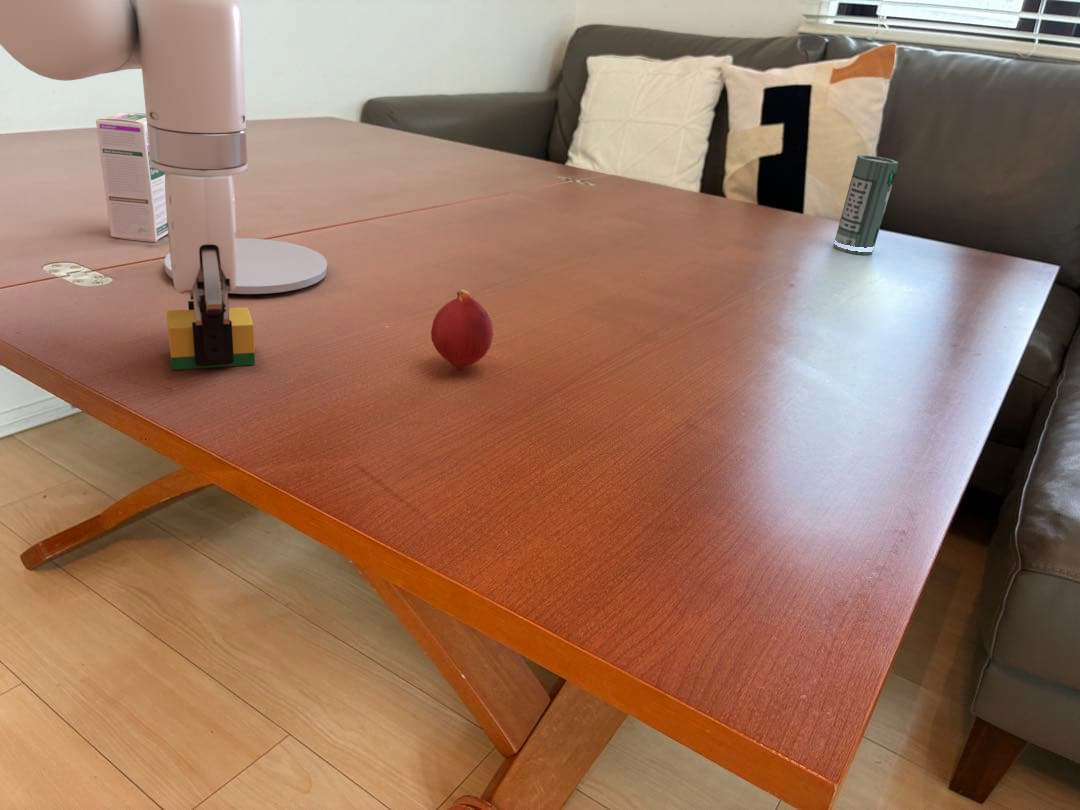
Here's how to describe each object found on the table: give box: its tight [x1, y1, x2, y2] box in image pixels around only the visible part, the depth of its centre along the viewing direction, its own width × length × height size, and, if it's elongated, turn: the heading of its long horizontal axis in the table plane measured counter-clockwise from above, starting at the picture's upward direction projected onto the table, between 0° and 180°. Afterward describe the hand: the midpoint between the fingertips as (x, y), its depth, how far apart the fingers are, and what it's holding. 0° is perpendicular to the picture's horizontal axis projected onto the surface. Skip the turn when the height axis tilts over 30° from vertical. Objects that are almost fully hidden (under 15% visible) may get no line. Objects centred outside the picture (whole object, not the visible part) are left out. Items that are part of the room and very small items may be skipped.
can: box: [833, 154, 900, 256], centre depth 140 cm, size 6×6×15 cm
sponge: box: [166, 307, 256, 371], centre depth 77 cm, size 7×4×4 cm, turn 114°
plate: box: [163, 237, 328, 295], centre depth 99 cm, size 18×18×2 cm
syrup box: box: [95, 111, 168, 243], centre depth 105 cm, size 6×6×14 cm
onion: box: [430, 289, 494, 370], centre depth 80 cm, size 6×6×8 cm
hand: (211, 350), depth 78 cm, fingers closed on sponge, 4 cm apart
